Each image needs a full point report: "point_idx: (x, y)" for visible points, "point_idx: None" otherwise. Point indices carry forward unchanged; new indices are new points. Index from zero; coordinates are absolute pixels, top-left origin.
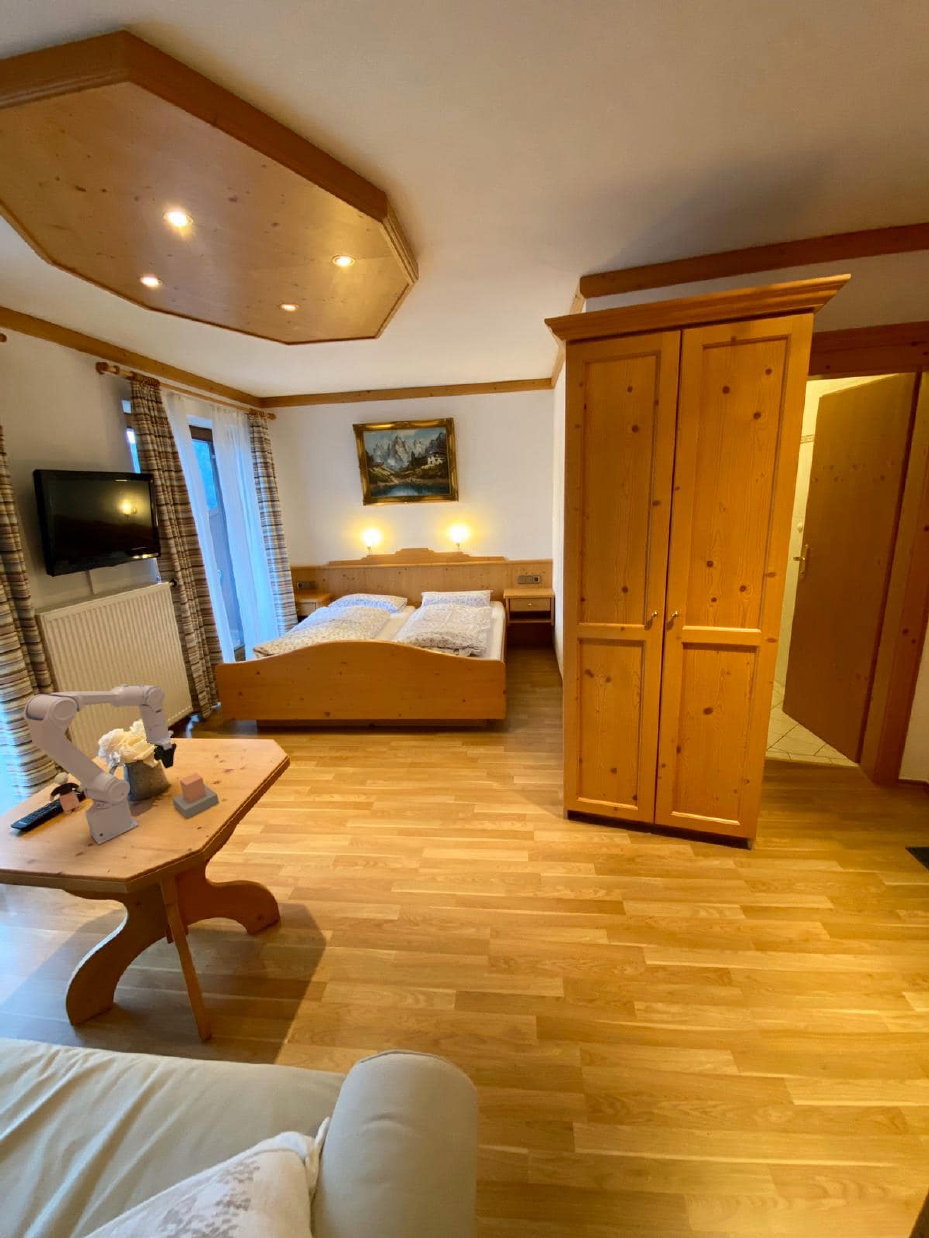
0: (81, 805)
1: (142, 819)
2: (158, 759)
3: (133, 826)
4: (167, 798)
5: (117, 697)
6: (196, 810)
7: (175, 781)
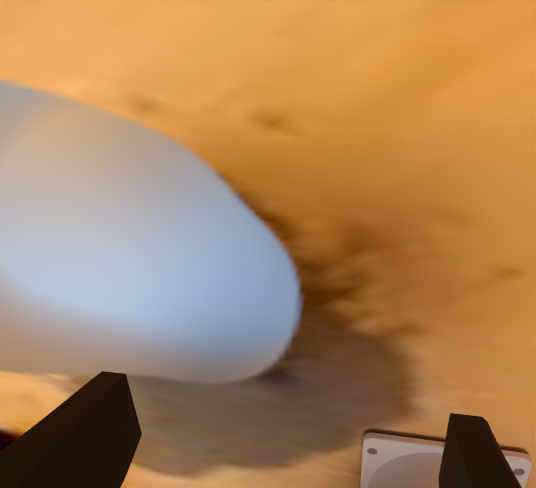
0: None
1: None
2: (133, 426)
3: (526, 475)
4: (384, 263)
5: None
6: None
7: (182, 138)
